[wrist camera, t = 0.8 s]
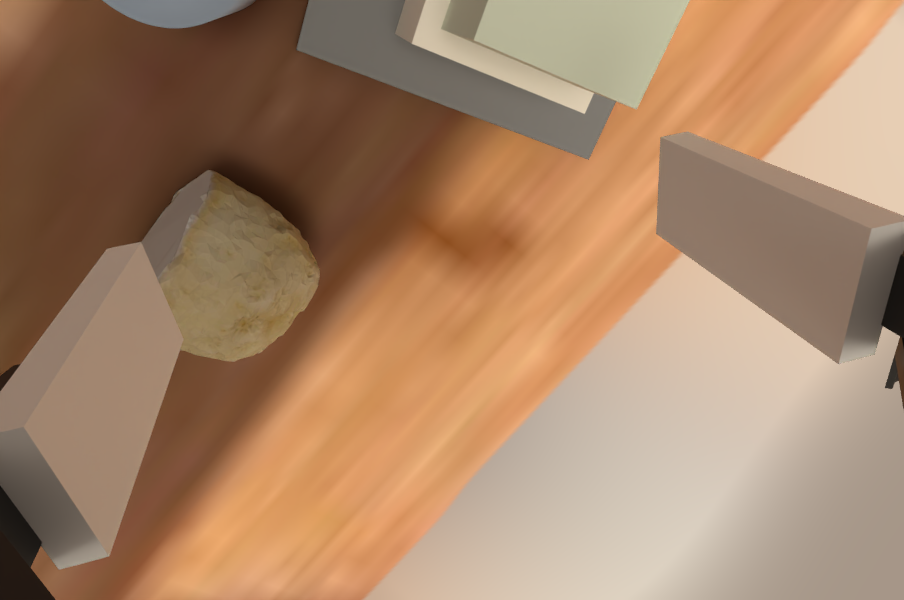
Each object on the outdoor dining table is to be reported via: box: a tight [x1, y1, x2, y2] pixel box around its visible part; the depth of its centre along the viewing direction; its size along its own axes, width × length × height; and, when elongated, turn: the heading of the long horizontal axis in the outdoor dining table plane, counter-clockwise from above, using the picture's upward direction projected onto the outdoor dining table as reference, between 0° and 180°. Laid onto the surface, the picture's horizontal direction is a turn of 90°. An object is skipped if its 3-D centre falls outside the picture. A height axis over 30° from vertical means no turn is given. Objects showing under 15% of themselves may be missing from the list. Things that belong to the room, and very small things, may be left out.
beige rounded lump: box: [141, 170, 320, 362], centre depth 31 cm, size 10×10×10 cm
